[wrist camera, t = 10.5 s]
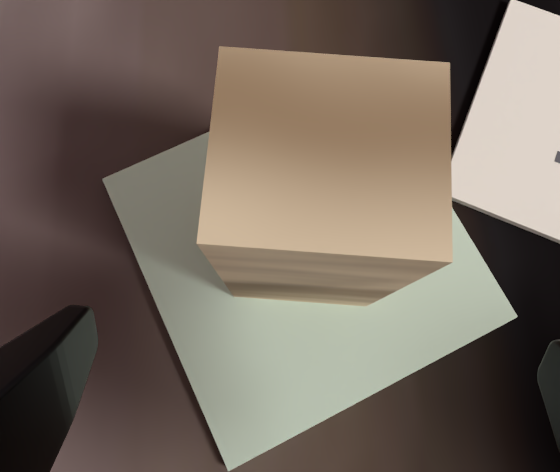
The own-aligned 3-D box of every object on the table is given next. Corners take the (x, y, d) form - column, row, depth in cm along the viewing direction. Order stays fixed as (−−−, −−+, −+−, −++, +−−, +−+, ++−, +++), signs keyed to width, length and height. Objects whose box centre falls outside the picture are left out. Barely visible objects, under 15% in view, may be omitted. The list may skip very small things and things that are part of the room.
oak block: (365, 306, 18) (452, 262, 9) (233, 296, 18) (196, 243, 9) (369, 195, 19) (449, 63, 10) (244, 186, 19) (219, 46, 10)
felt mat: (229, 468, 17) (228, 471, 17) (105, 182, 20) (101, 178, 19) (512, 317, 18) (517, 316, 18) (363, 68, 21) (364, 63, 21)
